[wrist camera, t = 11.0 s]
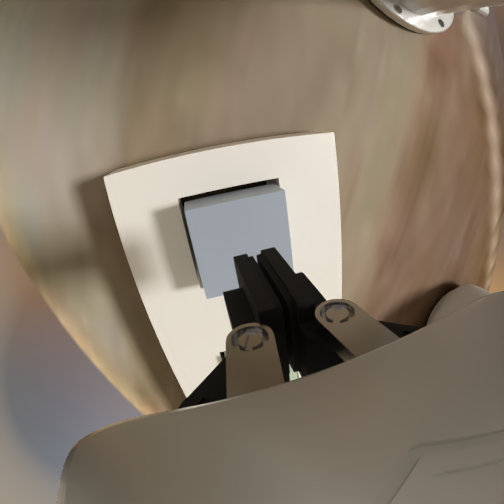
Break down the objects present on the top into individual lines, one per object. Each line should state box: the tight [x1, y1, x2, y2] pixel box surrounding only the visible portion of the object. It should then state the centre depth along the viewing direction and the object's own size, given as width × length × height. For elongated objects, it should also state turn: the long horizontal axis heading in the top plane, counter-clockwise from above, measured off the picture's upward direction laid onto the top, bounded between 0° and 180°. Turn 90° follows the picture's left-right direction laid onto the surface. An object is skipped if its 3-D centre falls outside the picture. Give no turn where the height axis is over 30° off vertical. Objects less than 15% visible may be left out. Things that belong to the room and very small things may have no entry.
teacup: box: [426, 284, 492, 326], centre depth 27 cm, size 14×11×8 cm
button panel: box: [103, 131, 342, 398], centre depth 23 cm, size 13×32×3 cm, turn 9°
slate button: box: [184, 184, 294, 299], centre depth 16 cm, size 5×5×2 cm
